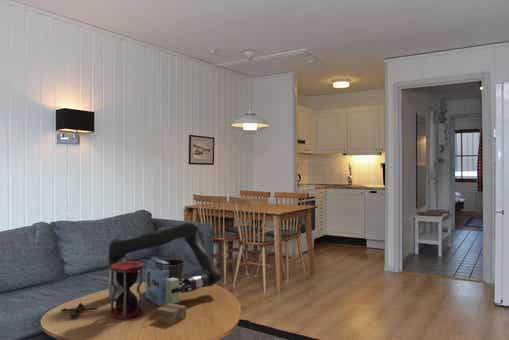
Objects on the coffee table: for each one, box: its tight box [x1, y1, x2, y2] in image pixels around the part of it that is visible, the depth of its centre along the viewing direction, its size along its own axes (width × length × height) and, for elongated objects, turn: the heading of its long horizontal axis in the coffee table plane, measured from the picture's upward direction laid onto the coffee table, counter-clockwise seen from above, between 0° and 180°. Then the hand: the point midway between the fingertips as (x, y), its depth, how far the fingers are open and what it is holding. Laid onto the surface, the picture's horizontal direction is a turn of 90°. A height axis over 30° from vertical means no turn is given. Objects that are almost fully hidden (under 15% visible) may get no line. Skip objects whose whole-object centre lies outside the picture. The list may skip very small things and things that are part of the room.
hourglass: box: [109, 261, 144, 320], centre depth 210 cm, size 16×16×25 cm
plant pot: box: [162, 258, 186, 282], centre depth 255 cm, size 16×16×16 cm
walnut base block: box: [156, 303, 187, 325], centre depth 203 cm, size 10×10×6 cm
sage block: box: [165, 278, 180, 304], centre depth 219 cm, size 5×5×12 cm
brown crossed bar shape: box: [60, 302, 99, 320], centre depth 210 cm, size 18×4×14 cm
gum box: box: [144, 256, 169, 307], centre depth 230 cm, size 20×5×23 cm, turn 38°
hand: (168, 290), depth 217 cm, fingers closed on sage block, 5 cm apart
